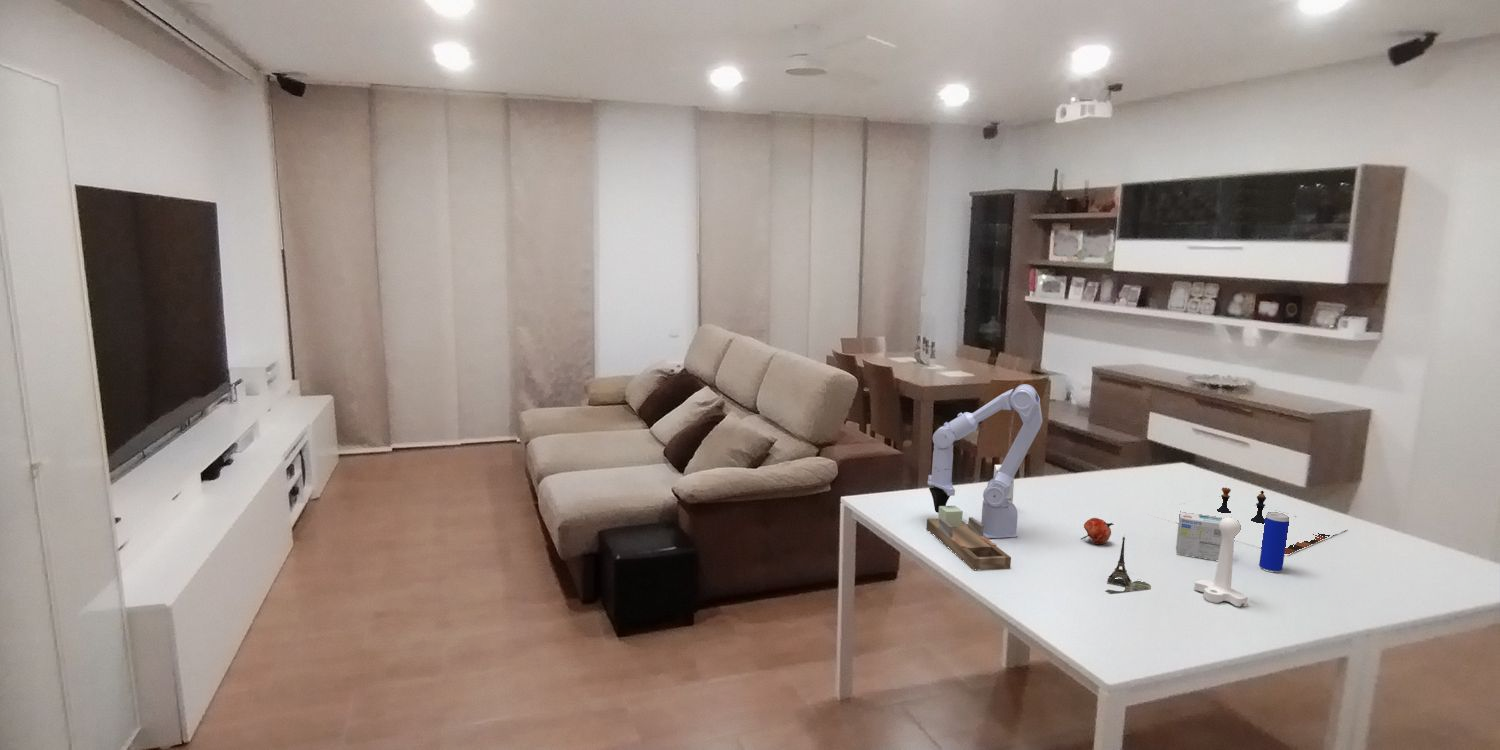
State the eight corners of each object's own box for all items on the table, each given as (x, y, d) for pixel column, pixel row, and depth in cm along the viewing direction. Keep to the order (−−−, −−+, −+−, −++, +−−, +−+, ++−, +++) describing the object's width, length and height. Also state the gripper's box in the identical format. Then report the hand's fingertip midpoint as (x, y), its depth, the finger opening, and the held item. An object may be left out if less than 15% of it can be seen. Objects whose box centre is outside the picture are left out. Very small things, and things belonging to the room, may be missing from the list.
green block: (954, 520, 236) (955, 505, 235) (961, 526, 231) (962, 511, 230) (937, 521, 235) (938, 506, 234) (945, 527, 230) (946, 511, 229)
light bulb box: (1218, 554, 223) (1223, 516, 221) (1220, 562, 217) (1225, 523, 215) (1174, 547, 227) (1179, 510, 226) (1175, 555, 221) (1180, 517, 220)
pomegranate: (1082, 552, 228) (1114, 538, 222) (1069, 528, 230) (1100, 513, 225) (1091, 548, 233) (1123, 534, 228) (1078, 524, 236) (1109, 510, 230)
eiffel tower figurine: (1109, 596, 195) (1114, 543, 193) (1080, 580, 204) (1085, 529, 202) (1159, 590, 199) (1165, 538, 197) (1129, 574, 209) (1134, 524, 207)
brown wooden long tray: (958, 527, 239) (959, 507, 238) (1010, 568, 209) (1012, 546, 208) (926, 528, 237) (927, 509, 236) (974, 570, 207) (975, 548, 206)
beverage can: (1278, 567, 214) (1286, 512, 212) (1284, 574, 210) (1292, 519, 207) (1256, 564, 216) (1263, 510, 214) (1261, 571, 211) (1269, 516, 209)
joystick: (1249, 604, 191) (1260, 523, 188) (1231, 611, 187) (1241, 528, 184) (1203, 586, 201) (1213, 509, 197) (1185, 592, 197) (1194, 513, 194)
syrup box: (1012, 515, 251) (1015, 470, 248) (992, 513, 252) (995, 468, 249) (1010, 509, 256) (1013, 465, 254) (990, 508, 257) (994, 463, 255)
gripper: (919, 461, 244) (917, 504, 246) (939, 474, 230) (936, 520, 232) (941, 460, 245) (938, 503, 247) (962, 474, 231) (959, 519, 233)
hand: (939, 511), depth 240 cm, fingers closed
